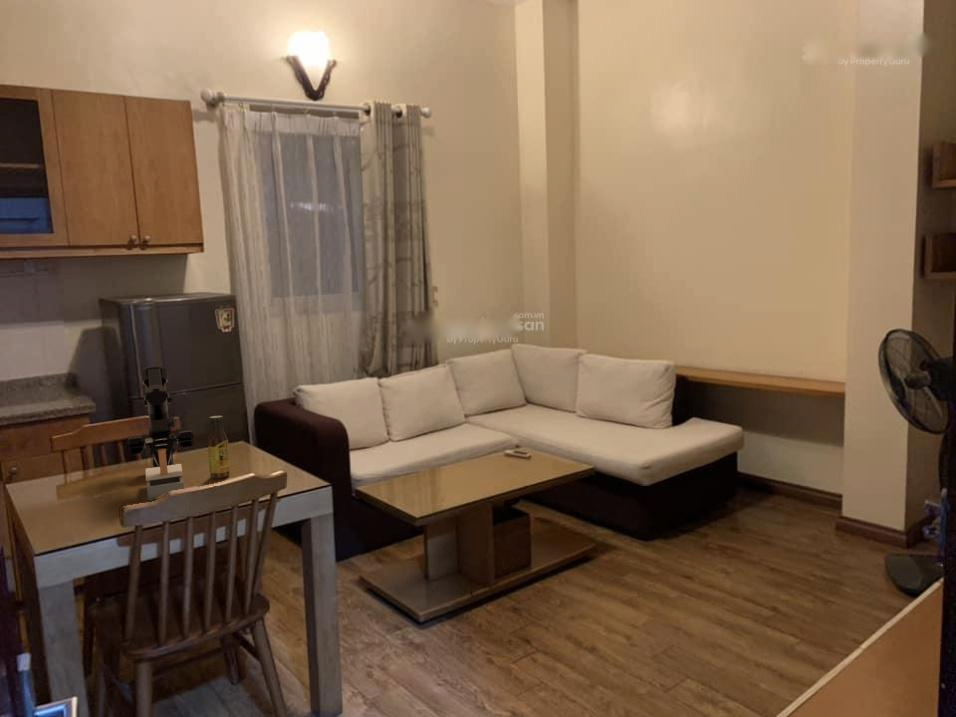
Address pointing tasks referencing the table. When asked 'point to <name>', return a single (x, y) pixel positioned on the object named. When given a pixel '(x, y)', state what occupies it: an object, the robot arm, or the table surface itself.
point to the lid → (163, 469)
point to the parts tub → (163, 486)
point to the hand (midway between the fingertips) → (163, 465)
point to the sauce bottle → (218, 449)
